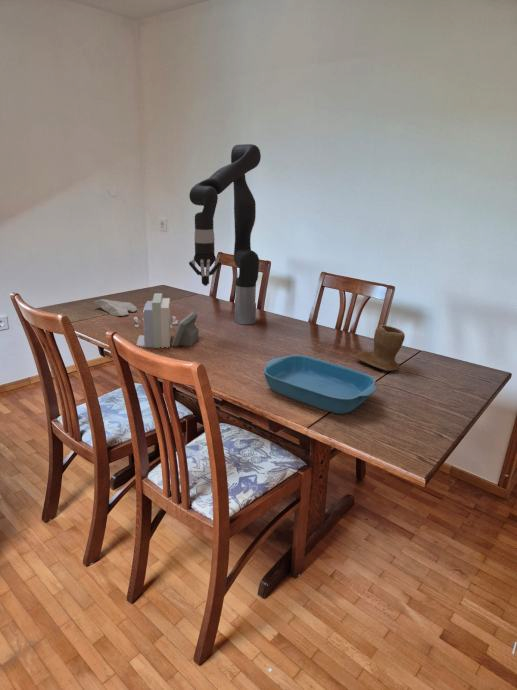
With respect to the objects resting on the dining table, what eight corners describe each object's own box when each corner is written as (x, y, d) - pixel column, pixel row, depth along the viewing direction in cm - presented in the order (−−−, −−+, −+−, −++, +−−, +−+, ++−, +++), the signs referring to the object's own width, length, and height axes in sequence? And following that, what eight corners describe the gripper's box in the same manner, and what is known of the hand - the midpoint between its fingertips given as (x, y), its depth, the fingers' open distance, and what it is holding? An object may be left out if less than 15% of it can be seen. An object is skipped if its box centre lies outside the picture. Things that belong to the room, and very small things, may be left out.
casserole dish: (249, 388, 144) (250, 367, 141) (288, 367, 161) (289, 349, 158) (353, 428, 123) (356, 405, 121) (385, 399, 140) (389, 379, 138)
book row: (171, 335, 187) (169, 293, 180) (169, 347, 174) (168, 302, 167) (139, 335, 185) (137, 293, 178) (135, 348, 172) (133, 302, 165)
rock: (119, 304, 228) (92, 306, 217) (119, 295, 227) (92, 297, 216) (143, 316, 216) (116, 319, 205) (144, 307, 215) (117, 310, 204)
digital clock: (187, 334, 189) (186, 309, 186) (205, 337, 186) (205, 313, 182) (165, 345, 175) (164, 320, 172) (184, 350, 172) (184, 323, 168)
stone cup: (406, 368, 164) (413, 329, 158) (386, 376, 157) (392, 335, 152) (373, 355, 175) (378, 318, 170) (353, 361, 168) (357, 323, 163)
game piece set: (124, 328, 194) (124, 319, 193) (149, 315, 212) (149, 308, 211) (164, 334, 189) (164, 325, 187) (186, 321, 207) (186, 313, 205)
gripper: (220, 239, 176) (221, 282, 183) (186, 239, 174) (188, 283, 180) (222, 242, 170) (222, 287, 176) (187, 242, 167) (188, 287, 174)
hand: (205, 285), depth 178 cm, fingers closed
